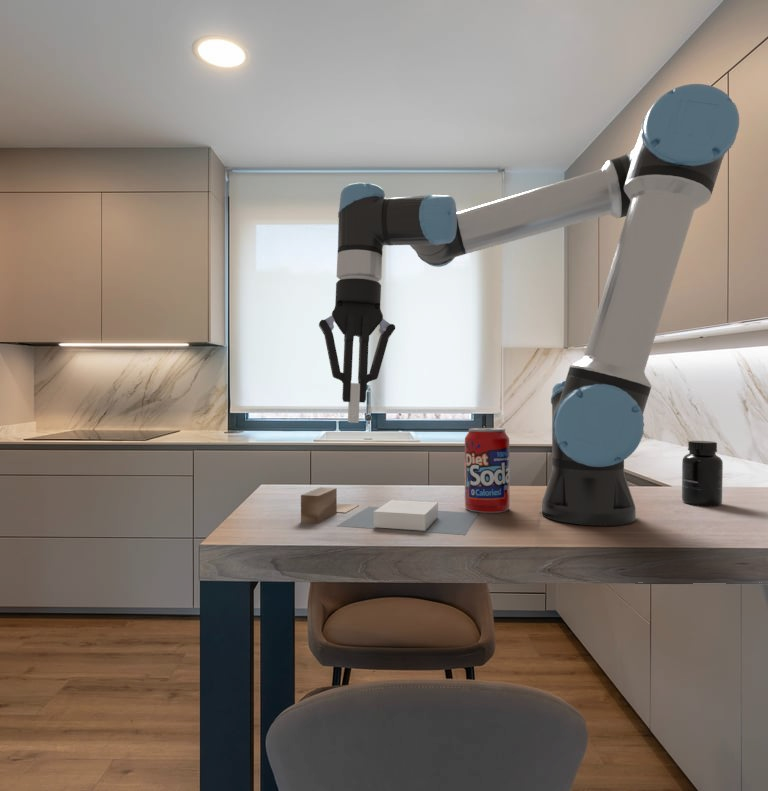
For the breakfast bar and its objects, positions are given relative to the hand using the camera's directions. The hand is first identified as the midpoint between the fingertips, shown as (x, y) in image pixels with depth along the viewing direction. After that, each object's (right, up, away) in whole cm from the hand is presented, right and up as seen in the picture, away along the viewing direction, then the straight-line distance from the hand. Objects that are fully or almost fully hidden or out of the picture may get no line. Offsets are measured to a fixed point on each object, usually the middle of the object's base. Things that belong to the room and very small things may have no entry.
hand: (353, 422), depth 94 cm
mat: (+10, -16, -2) cm, 19 cm away
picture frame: (+10, -15, 0) cm, 18 cm away
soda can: (+24, -17, +6) cm, 30 cm away
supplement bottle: (+67, -17, +15) cm, 70 cm away
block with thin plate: (-4, -17, +3) cm, 17 cm away
